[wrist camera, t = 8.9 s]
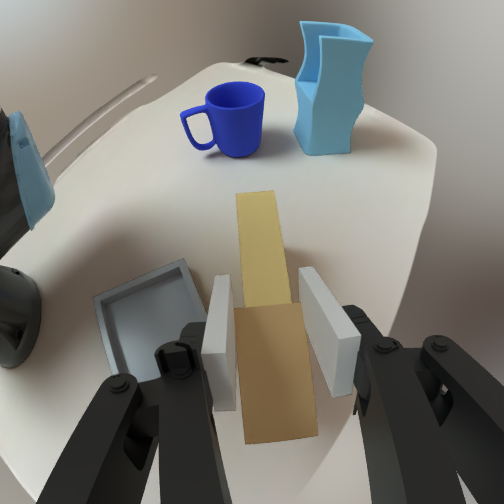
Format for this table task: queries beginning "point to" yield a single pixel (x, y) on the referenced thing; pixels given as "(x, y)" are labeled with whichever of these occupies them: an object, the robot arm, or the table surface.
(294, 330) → the stub
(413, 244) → the table surface
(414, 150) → the table surface
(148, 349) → the tray
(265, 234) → the grey-ended yellow block
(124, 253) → the table surface
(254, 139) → the mug
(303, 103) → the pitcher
